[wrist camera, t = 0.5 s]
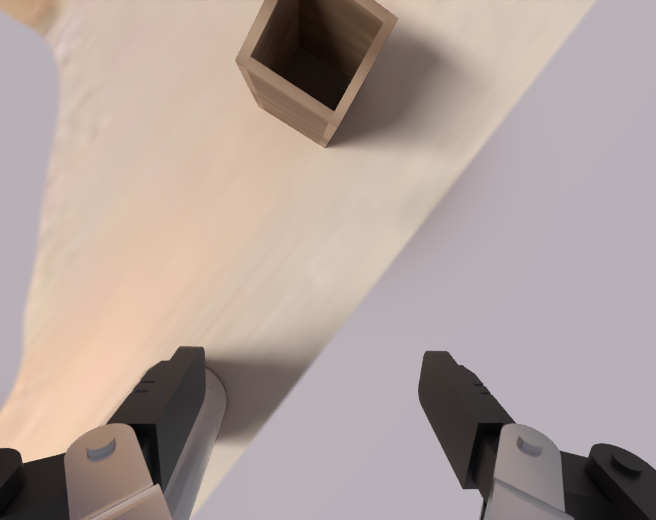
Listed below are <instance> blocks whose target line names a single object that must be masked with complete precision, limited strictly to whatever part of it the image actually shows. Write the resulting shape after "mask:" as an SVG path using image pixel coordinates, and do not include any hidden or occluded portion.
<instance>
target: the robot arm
mask: <svg viewBox="0 0 656 520" xmlns="http://www.w3.org/2000/svg"><path fill="white" fill-rule="evenodd" d="M418 393H419V400H420V403H421V406H422V408H423V410H424V412H425V414H426V416H427V418H428V420H429V422H430V424H431V426H432V428H433V430H434V432H435V434H436V436H437V438H438V440H439V442H440V444H441V446H442V448H443V450H444V452H445V454H446V456H447V458H448V460H449V462H450V464H451V466H452V468H453V470H454V472H455V474H456V476H457V478H458V480H459V482H460V484H461V486H462V488H463V489H478V490H479V491H480V493H481V495H482V497H483V503H482V507H481V512H480V518H479V520H656V470H655V469H654V468H653V467H651V466H650V465H649V464H648V463H647V462H645V461H644V460H642V459H641V458H639V457H638V456H636V455H634V454H633V453H631V452H629V451H627V450H625V449H622V448H620V447H617V446H613V445H610V444H603V443H601V444H595V445H593V446H592V448H591V451H590V453H589V456H588V458H586V457H583V456H579V455H575V454H571V453H567V452H563V451H559V449H558V448H557V446H556V445H555V444H554V443H553V442H552V441H551V440H550V439H549V438H548V437H547V436H545V435H544V434H542V433H541V432H539V431H537V430H535V429H533V428H531V427H528V426H526V425H521V424H516V423H515V422H514V420H513V419H512V418H511V417H510V416H509V415H508V413H507V412H506V411H505V410H504V409H503V407H502V406H501V405H500V404H499V403H498V401H497V400H496V399H495V398H494V397H493V395H491V394H490V392H489V390H488V389H487V388H486V387H485V386H483V383H482V382H481V381H480V380H479V379H478V377H477V376H476V375H475V374H474V373H472V372H471V371H470V370H468V369H467V368H465V367H464V366H463V365H458V364H457V363H456V361H455V360H454V359H453V358H452V356H451V355H450V354H449V353H448V352H447V351H426V352H425V354H424V357H423V363H422V369H421V375H420V381H419V388H418ZM226 405H227V397H226V392H225V389H224V387H223V385H222V383H221V381H220V380H219V379H218V377H217V376H216V375H215V374H214V373H212V372H211V371H210V370H209V369H207V368H205V352H204V348H203V347H191V346H180V347H179V348H178V349H177V351H176V352H175V354H174V355H173V356H172V358H171V359H170V361H161V362H159V363H158V364H156V365H155V366H153V367H151V368H150V369H149V370H147V371H146V372H145V373H144V374H143V375H142V376H141V377H140V378H139V380H138V381H137V382H136V383H135V384H134V385H133V386H132V388H131V389H130V390H129V391H128V392H127V393H126V395H125V396H124V397H123V398H122V399H121V400H120V401H119V402H118V404H117V405H116V406H115V407H114V408H113V410H112V411H111V412H110V413H109V414H108V415H107V417H106V418H105V419H104V420H103V421H102V423H101V424H100V425H99V426H98V427H97V428H95V429H93V430H91V431H89V432H87V433H85V434H84V435H82V436H81V437H79V438H78V439H77V440H76V441H75V442H73V443H72V444H71V446H70V447H69V448H68V450H67V452H66V453H63V454H59V455H56V456H52V457H47V458H43V459H39V460H35V461H31V462H27V463H23V462H22V458H21V455H20V453H19V452H18V451H17V450H15V449H11V448H0V520H189V518H190V515H191V512H192V509H193V506H194V503H195V500H196V497H197V494H198V491H199V488H200V485H201V482H202V479H203V476H204V473H205V470H206V467H207V464H208V461H209V458H210V455H211V452H212V449H213V446H214V443H215V441H216V438H217V435H218V432H219V429H220V426H221V423H222V420H223V417H224V413H225V410H226Z"/></svg>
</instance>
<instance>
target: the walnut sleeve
mask: <svg viewBox="0 0 656 520" xmlns="http://www.w3.org/2000/svg"><path fill="white" fill-rule="evenodd" d="M397 20H398V18H397V17H396V16H394V15H393V14H392V13H390V12H389V11H388V10H386V9H385V8H384V7H382V6H381V5H380V4H378V3H377V2H376V1H374V0H264V2H263V4H262V6H261V8H260V11H259V13H258V15H257V17H256V19H255V21H254V23H253V25H252V27H251V29H250V31H249V33H248V35H247V37H246V39H245V41H244V43H243V45H242V47H241V49H240V51H239V53H238V55H237V58H236V60H235V61H236V63H237V65H238V67H239V69H240V71H241V73H242V75H243V77H244V79H245V81H246V83H247V85H248V87H249V89H250V91H251V93H252V94H253V96H254V98H255V100H256V102H257V104H258V106H259V107H261V108H262V109H264V110H265V111H267V112H269V113H270V114H272V115H273V116H275V117H276V118H278V119H280V120H281V121H283V122H284V123H286V124H288V125H289V126H291V127H292V128H294V129H296V130H297V131H299V132H300V133H302V134H303V135H305V136H307V137H308V138H310V139H311V140H313V141H315V142H316V143H318V144H319V145H321V146H323V147H324V148H325V147H326V146H327V144H328V142H329V141H330V139H331V137H332V136H333V134H334V133H335V131H336V129H337V128H338V126H339V124H340V122H341V121H342V119H343V117H344V115H345V113H346V112H347V110H348V108H349V106H350V105H351V103H352V101H353V99H354V97H355V96H356V94H357V92H358V90H359V88H360V87H361V85H362V83H363V81H364V79H365V78H366V76H367V74H368V72H369V70H370V69H371V67H372V65H373V63H374V61H375V60H376V58H377V56H378V54H379V53H380V51H381V49H382V47H383V45H384V44H385V42H386V40H387V38H388V36H389V35H390V33H391V31H392V29H393V27H394V26H395V24H396V22H397ZM299 44H301V45H302V46H303V47H305V48H306V49H308V50H309V51H311V52H312V53H314V54H315V55H317V56H318V57H319V58H321V59H322V60H324V61H325V62H327V63H328V64H330V65H331V66H333V67H334V68H335V69H337V70H338V71H340V72H341V73H343V74H344V75H346V76H347V77H349V78H350V79H351V80H352V81H351V83H350V84H349V86H348V88H347V90H346V92H345V93H344V95H343V97H342V99H341V101H340V103H339V104H338V106H337V108H336V110H335V112H334V111H332V110H331V109H329V108H328V107H326V106H325V105H323V104H322V103H320V102H319V101H317V100H316V99H314V98H313V97H311V96H310V95H308V94H307V93H305V92H304V91H302V90H301V89H299V88H298V87H296V86H294V85H293V84H291V83H290V82H288V81H287V80H285V79H284V78H282V76H283V74H284V72H285V70H286V68H287V66H288V64H289V62H290V60H291V58H292V56H293V54H294V52H295V50H296V48H297V47H298V45H299Z"/></svg>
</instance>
